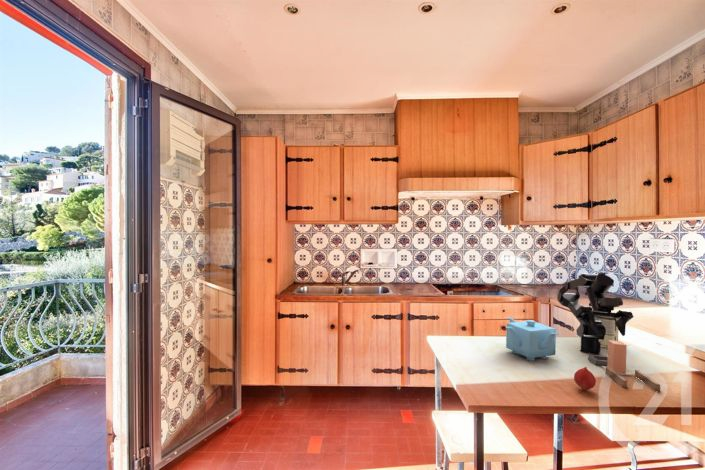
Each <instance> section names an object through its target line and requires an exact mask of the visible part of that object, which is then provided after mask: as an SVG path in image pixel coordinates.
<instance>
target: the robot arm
mask: <svg viewBox="0 0 705 470" xmlns="http://www.w3.org/2000/svg"><path fill="white" fill-rule="evenodd" d="M614 281H615V280H614V279H613V278H612V277H611V276H609V275H607V274H606V273H605V272H598V273H580V275H578V278H576V279H571V280H568V281H565V283H564V285H563V287H561V288H560V289H559V290H558V294H557V302H558V303H559V304H560V305H561V306H563V307H565V308H567V309H569V311H570V312H571V313H572V315H573V316H574V317H575V319H576V320H577V321H578V322H579V326H578V327H577V329H575V330H576V335H577V337H580V349H579V351H580V352H583V353H587V354H591V355H598V356H600V353H601V346H600V345H601V342H599V339H602V340H604V337H605V333H606V329H605V326H604V325H603V324H602V322H601V321H600V320H599V318H597V317H594V315H595V316H602V317H611V318H614V321H616V322H615V324H616V326H617V328H618V332H619V333H620V335H621V336H622V337H624V336H625V335H626V326H627V323H628V322H630V320H632V319H633V318H634V314H633V313H632V311H630V310H622V309H619V310H617V311H616V312H612V311H614V310H615V308H618V307H621V306H623V305H624V301H623V299H622V297H619V296H615V297H607V296H605V294H606V293H607V292H609V290H610V288H611V287H612V286H613V285H614V283H615V282H614ZM586 287H587V288H586ZM582 288H586V290H585V292H584V295H585V296H587V298H588V301H589V303H588V305H587V306H586V305H581V304H580V303H579V300H580V299H581V294H580V292H579V290H580V289H582ZM569 290H572V291H573V290H574V291H575V293H574V292H573V293H571V292H568V291H569Z"/></svg>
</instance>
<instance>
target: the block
mask: <svg viewBox="0 0 705 470" xmlns="http://www.w3.org/2000/svg"><path fill="white" fill-rule="evenodd" d="M627 347H628V345H627V344H626V343H624V342H622V341H621V340H618V341H611V340H608V348H607V356H608V360H607V367H610V368H611V369H612V370H614V371H615V372H620V373H626V371H627V351H628V350H627Z"/></svg>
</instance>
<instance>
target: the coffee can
mask: <svg viewBox="0 0 705 470" xmlns="http://www.w3.org/2000/svg"><path fill="white" fill-rule="evenodd" d="M594 317H597V318H599V320H600V321H601V322H602V324H603V325H604V326H605V329H606V333H605V337H604V340H602V339H599V342H601V345H600V348H607V349H608V340H611V341H619V330H618V328H617V326H616V324H615V322H616V321H614V318H611V317H602V316H595V315H594Z"/></svg>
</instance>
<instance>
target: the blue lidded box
mask: <svg viewBox="0 0 705 470" xmlns="http://www.w3.org/2000/svg"><path fill="white" fill-rule="evenodd" d="M507 319H508V320H509V322H507V323H506V326H505V329H506V338H505V339H506V340H505V341H506V342H505V343H506V344H505V348H506V349H509V350H511V351H512V354H515V355H521V356H523V357H526V360H528V361H531V362H535V358H540V359H545V360H548V359H549V358H548V356H554V355H556V346H557V345H556V343H557V341H556V340H557V335H559V333H558V332H557V329H556V328H555V327H553V326H552V327H551V326H549V325H546V324H543V323H540V322H536V321H535V320H533V319H526V320H524V321H516V320H515V319H514V318H512V317H510V316H507Z"/></svg>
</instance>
